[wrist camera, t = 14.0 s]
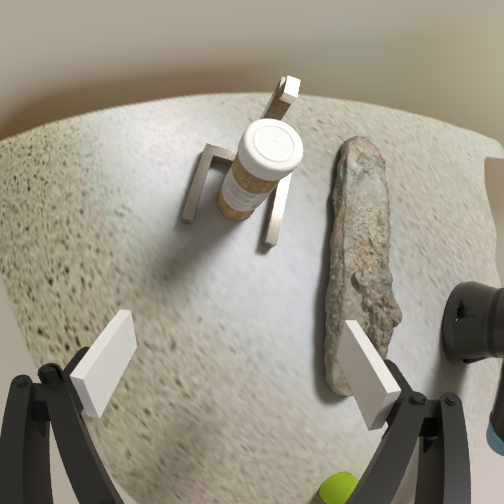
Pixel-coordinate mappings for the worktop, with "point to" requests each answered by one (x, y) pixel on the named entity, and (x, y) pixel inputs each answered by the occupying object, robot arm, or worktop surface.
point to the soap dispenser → (338, 488)
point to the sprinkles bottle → (259, 166)
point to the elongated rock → (359, 257)
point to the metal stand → (273, 110)
